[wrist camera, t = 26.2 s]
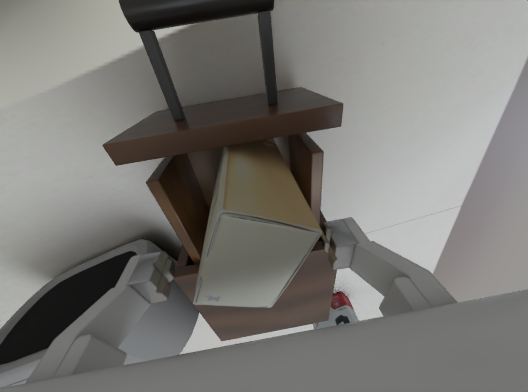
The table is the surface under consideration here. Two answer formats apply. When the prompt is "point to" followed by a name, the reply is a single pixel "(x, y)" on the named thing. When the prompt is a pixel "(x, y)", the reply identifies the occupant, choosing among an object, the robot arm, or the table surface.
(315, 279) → the cabinet
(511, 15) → the table surface
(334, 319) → the ink box
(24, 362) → the alarm clock
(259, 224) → the cosmetic box
